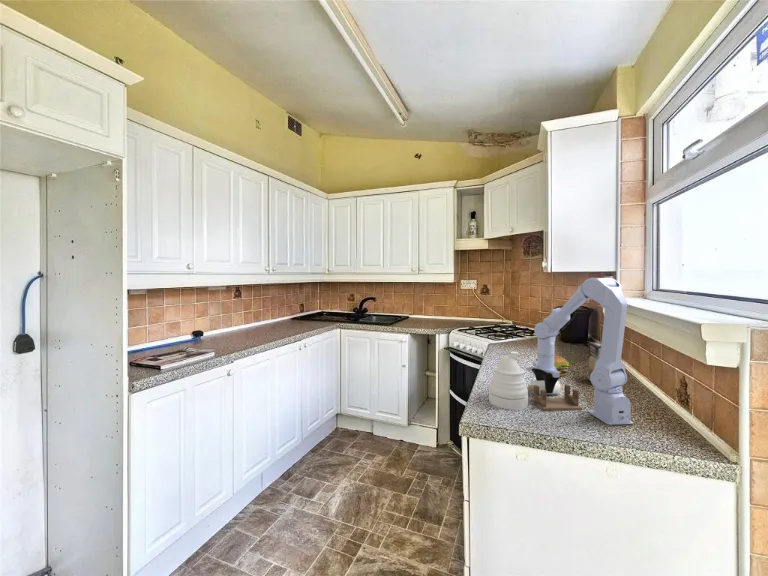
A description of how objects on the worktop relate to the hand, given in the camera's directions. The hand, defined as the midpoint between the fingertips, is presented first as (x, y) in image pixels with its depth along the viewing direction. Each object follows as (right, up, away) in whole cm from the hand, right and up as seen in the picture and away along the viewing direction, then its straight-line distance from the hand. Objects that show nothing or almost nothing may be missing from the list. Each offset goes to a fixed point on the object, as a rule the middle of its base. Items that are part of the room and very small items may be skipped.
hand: (545, 390), depth 122 cm
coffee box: (+28, -1, +12) cm, 31 cm away
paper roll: (0, +1, 0) cm, 1 cm away
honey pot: (-17, -2, -7) cm, 18 cm away
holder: (-1, -2, -10) cm, 10 cm away
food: (+17, 0, +26) cm, 31 cm away
